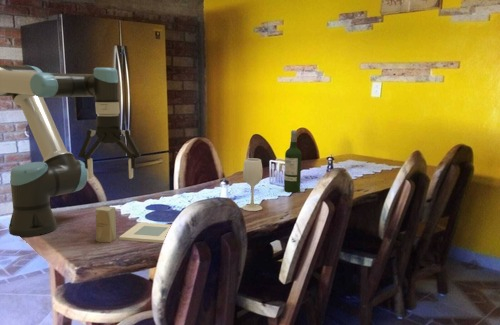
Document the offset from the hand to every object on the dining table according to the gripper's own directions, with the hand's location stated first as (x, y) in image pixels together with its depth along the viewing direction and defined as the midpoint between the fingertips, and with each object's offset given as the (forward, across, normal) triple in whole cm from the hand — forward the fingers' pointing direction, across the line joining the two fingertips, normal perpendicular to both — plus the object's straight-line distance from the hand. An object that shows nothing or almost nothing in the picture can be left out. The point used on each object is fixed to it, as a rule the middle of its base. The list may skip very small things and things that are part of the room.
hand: (111, 177), depth 149 cm
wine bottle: (+20, +70, +64) cm, 97 cm away
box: (+20, -1, -6) cm, 21 cm away
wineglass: (+20, +49, +33) cm, 62 cm away
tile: (+20, +13, 0) cm, 24 cm away
